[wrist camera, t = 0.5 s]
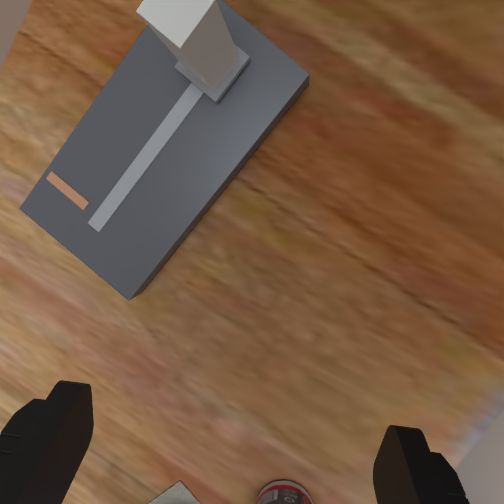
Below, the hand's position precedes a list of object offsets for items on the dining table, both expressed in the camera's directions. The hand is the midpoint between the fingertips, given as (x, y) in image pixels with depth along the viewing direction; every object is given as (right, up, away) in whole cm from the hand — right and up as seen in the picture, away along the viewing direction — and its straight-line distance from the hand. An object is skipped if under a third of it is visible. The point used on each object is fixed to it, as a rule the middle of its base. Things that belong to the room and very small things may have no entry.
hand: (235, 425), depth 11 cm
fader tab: (-2, +19, +19) cm, 27 cm away
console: (-7, +13, +24) cm, 29 cm away
